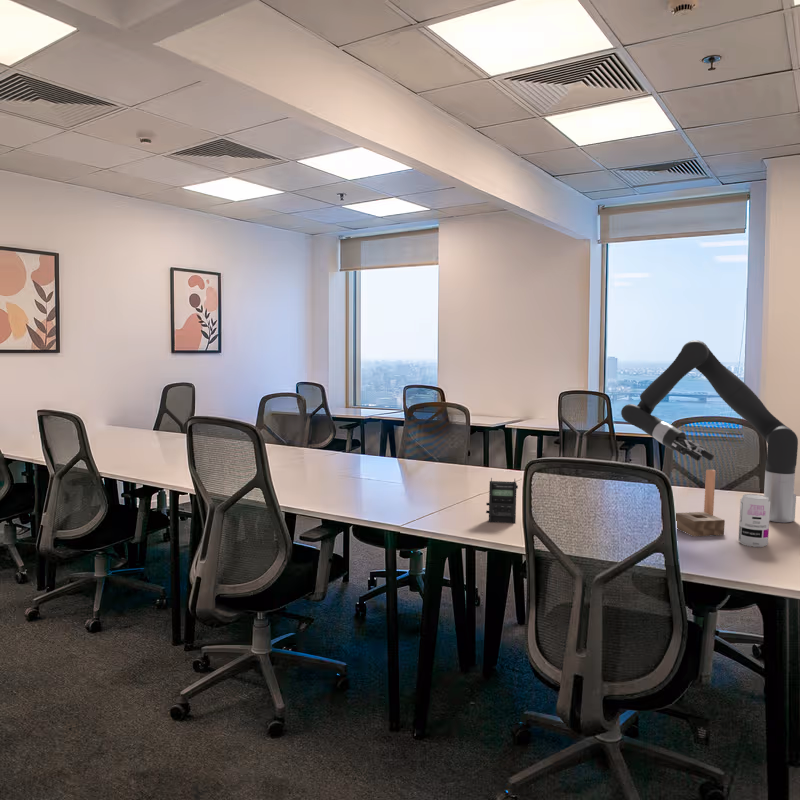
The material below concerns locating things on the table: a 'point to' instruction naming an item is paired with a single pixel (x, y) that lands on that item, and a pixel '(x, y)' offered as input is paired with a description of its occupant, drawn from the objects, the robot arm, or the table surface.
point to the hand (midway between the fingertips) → (706, 458)
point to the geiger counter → (502, 501)
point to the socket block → (700, 524)
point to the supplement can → (754, 520)
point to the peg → (709, 492)
